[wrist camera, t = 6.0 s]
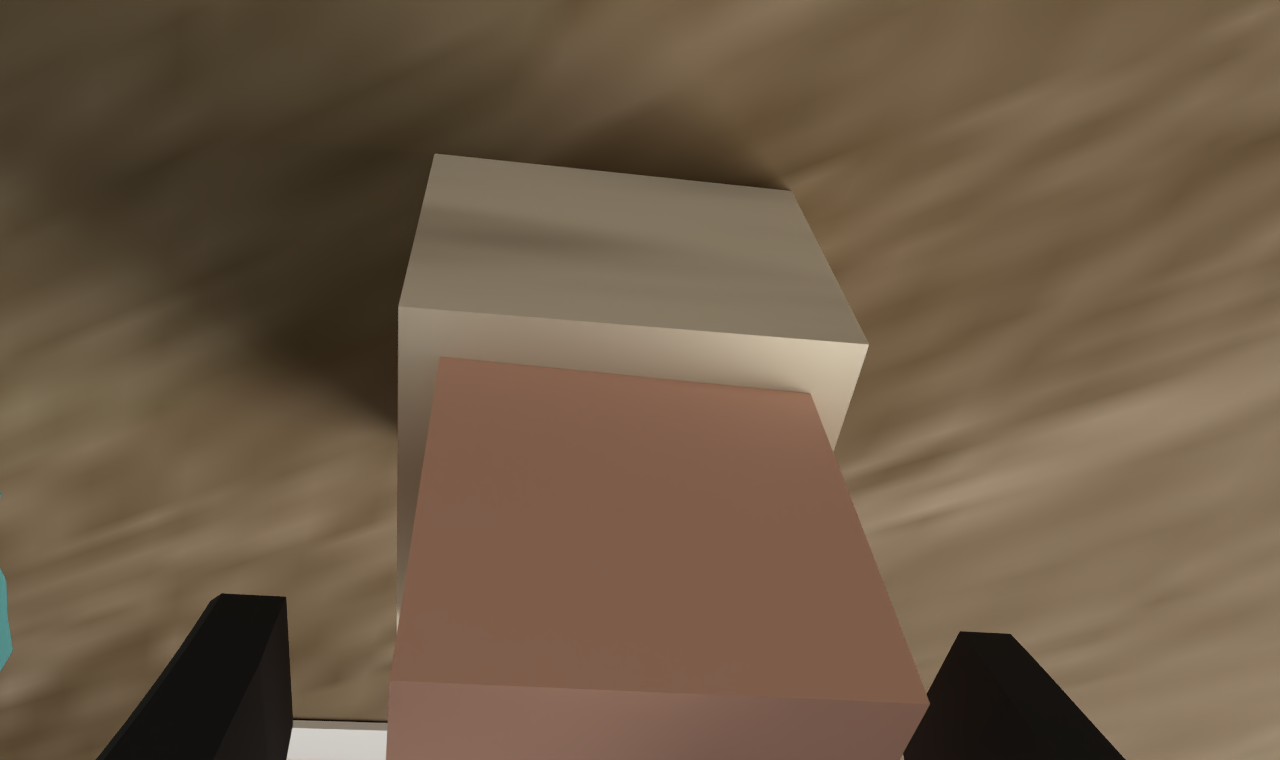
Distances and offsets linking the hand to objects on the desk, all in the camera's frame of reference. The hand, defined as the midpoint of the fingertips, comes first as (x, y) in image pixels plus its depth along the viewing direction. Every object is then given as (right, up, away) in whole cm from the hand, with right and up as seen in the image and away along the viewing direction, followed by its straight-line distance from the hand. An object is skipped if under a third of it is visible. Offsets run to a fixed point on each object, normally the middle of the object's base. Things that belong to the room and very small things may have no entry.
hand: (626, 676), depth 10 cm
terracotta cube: (0, +1, +2) cm, 3 cm away
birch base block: (-1, +4, +6) cm, 7 cm away
